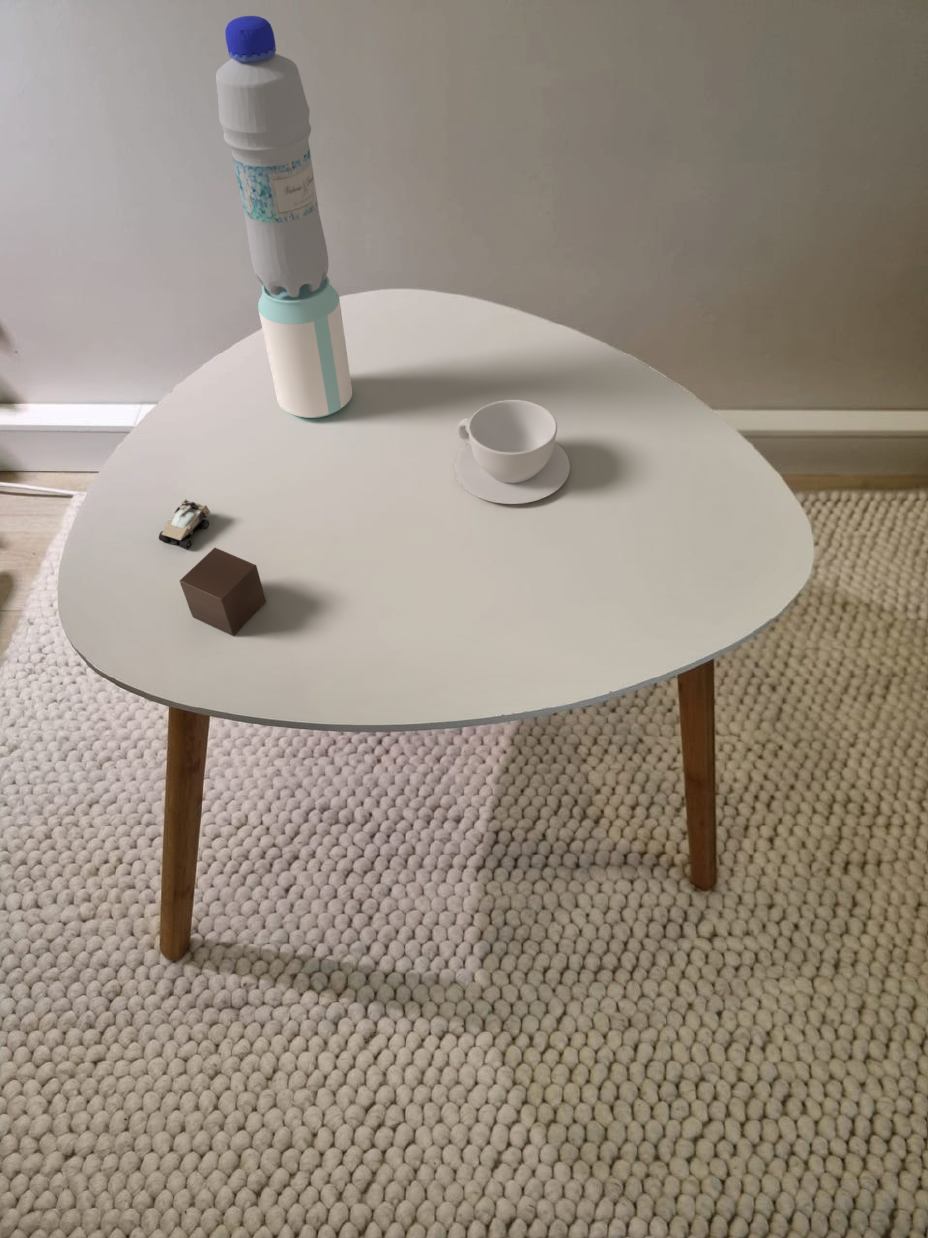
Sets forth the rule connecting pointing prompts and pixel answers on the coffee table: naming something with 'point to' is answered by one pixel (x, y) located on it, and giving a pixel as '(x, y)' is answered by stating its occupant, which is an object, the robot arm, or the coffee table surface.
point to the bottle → (271, 158)
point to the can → (307, 350)
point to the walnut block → (223, 591)
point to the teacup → (511, 453)
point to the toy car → (185, 524)
